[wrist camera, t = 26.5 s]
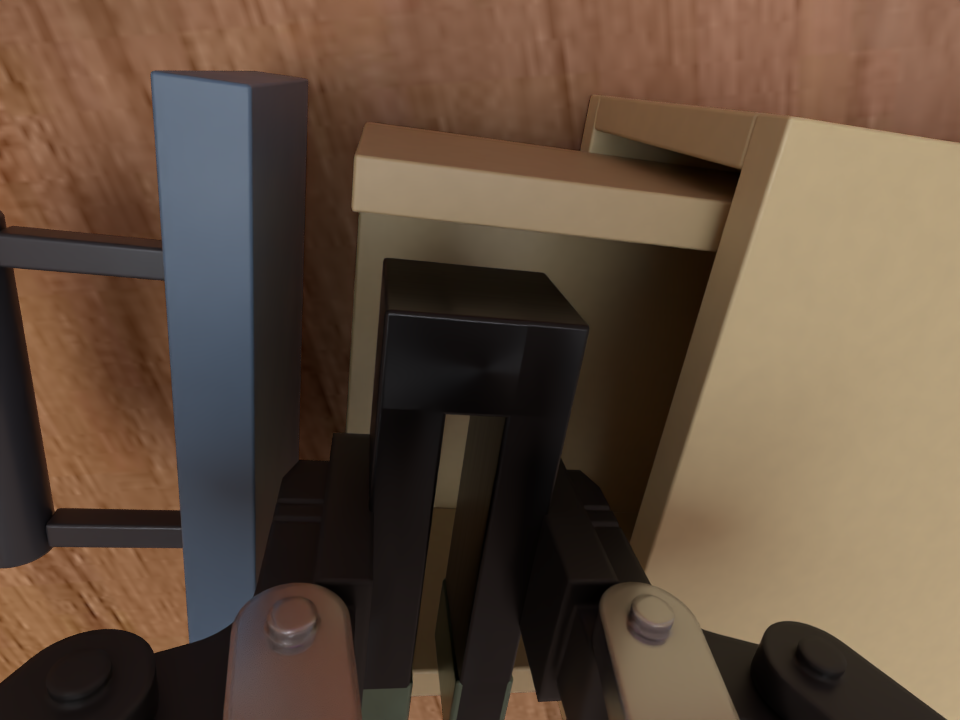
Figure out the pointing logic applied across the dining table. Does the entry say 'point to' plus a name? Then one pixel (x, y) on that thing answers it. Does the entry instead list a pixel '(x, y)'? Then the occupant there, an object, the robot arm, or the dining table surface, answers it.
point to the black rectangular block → (463, 469)
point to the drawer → (355, 317)
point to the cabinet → (814, 389)
